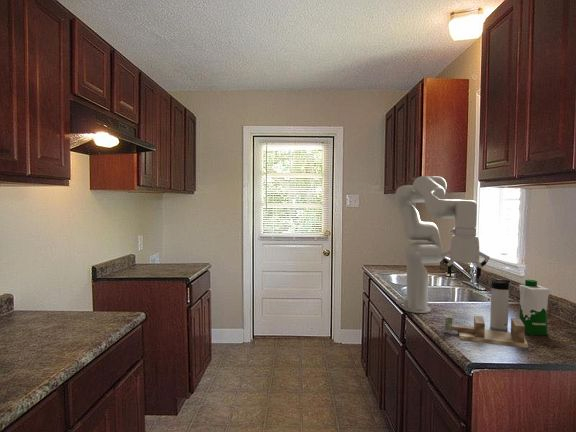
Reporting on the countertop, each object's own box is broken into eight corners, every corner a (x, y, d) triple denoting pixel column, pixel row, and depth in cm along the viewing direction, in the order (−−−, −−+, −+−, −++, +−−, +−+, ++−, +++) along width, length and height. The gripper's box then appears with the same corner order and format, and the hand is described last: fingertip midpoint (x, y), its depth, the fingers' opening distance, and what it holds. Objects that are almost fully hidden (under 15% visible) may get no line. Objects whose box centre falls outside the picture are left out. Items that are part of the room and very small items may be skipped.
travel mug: (510, 332, 154) (512, 281, 153) (492, 331, 155) (494, 281, 155) (505, 327, 160) (507, 278, 160) (488, 326, 162) (489, 278, 161)
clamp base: (459, 338, 146) (460, 319, 146) (459, 329, 157) (459, 311, 157) (527, 347, 138) (528, 327, 137) (522, 337, 149) (522, 318, 148)
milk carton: (536, 328, 160) (538, 279, 159) (551, 335, 151) (553, 284, 150) (515, 328, 160) (516, 279, 159) (528, 335, 151) (530, 284, 150)
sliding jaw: (445, 332, 149) (445, 319, 149) (445, 324, 158) (445, 312, 158) (484, 337, 144) (484, 323, 144) (482, 329, 153) (482, 316, 153)
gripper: (440, 232, 150) (439, 276, 150) (491, 234, 143) (490, 280, 144) (441, 230, 157) (439, 273, 157) (489, 232, 150) (488, 277, 151)
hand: (463, 276), depth 150 cm, fingers open, 9 cm apart
